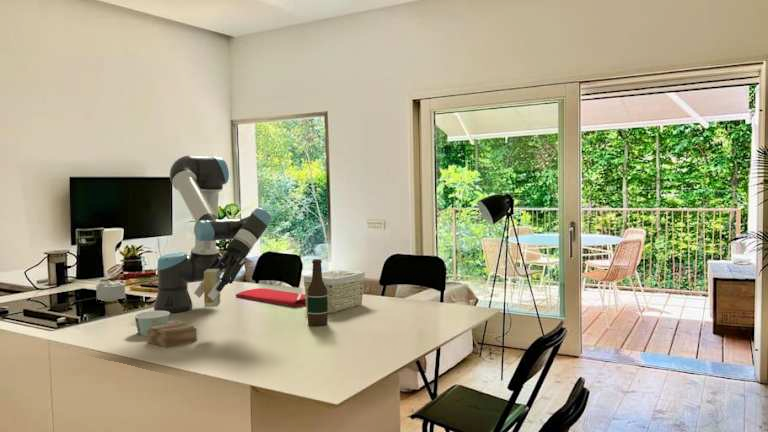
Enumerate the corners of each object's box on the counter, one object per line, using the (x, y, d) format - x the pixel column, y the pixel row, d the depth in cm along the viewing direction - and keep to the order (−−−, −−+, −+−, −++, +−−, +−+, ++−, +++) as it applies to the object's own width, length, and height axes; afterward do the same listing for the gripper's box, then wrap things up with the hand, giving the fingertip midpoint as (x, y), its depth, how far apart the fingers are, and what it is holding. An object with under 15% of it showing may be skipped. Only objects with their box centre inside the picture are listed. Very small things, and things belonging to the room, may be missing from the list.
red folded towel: (262, 293, 282) (262, 285, 282) (321, 303, 256) (321, 295, 256) (235, 298, 270) (235, 290, 270) (294, 309, 244) (293, 300, 244)
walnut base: (147, 342, 190) (147, 327, 190) (177, 335, 199) (177, 321, 199) (166, 347, 184) (166, 332, 184) (196, 340, 193) (196, 325, 192)
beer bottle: (324, 326, 210) (323, 261, 209) (304, 326, 212) (303, 260, 211) (330, 322, 218) (330, 258, 217) (311, 321, 219) (310, 258, 218)
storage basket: (337, 301, 260) (336, 268, 259) (367, 304, 251) (366, 270, 250) (302, 310, 239) (301, 275, 239) (333, 315, 231) (332, 278, 230)
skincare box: (208, 303, 202) (207, 268, 201) (220, 303, 202) (220, 268, 202) (203, 307, 196) (203, 271, 195) (217, 307, 196) (216, 271, 195)
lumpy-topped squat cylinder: (107, 303, 258) (106, 284, 257) (90, 300, 265) (90, 281, 264) (128, 299, 266) (128, 280, 266) (112, 296, 273) (111, 278, 273)
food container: (148, 338, 196) (147, 319, 196) (126, 333, 202) (126, 315, 202) (177, 330, 206) (177, 312, 206) (156, 326, 212) (155, 309, 212)
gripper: (265, 253, 204) (228, 307, 192) (229, 249, 216) (192, 299, 204) (253, 239, 200) (215, 293, 188) (217, 236, 212) (179, 286, 200)
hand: (203, 296), depth 196 cm, fingers closed on skincare box, 7 cm apart
